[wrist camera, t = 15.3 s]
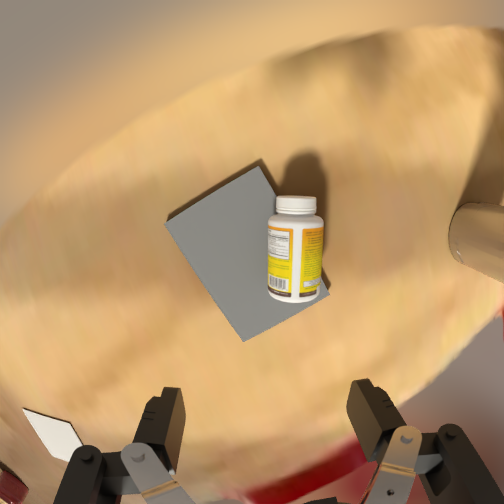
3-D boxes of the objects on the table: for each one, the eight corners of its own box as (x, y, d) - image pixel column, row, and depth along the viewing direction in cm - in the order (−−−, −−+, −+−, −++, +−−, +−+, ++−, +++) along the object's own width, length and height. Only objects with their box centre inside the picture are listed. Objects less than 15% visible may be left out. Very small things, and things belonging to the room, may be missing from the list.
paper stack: (28, 444, 43) (27, 446, 42) (-16, 367, 37) (-18, 369, 36) (99, 468, 44) (98, 470, 43) (55, 389, 38) (53, 391, 37)
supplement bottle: (318, 286, 33) (323, 196, 30) (320, 306, 27) (326, 199, 25) (270, 284, 34) (272, 194, 31) (263, 303, 28) (264, 197, 26)
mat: (258, 166, 31) (258, 165, 30) (327, 291, 35) (329, 294, 34) (166, 222, 32) (163, 223, 31) (243, 338, 36) (243, 342, 35)
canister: (-2, 468, 49) (-18, 494, 32) (10, 471, 49) (-7, 500, 31) (21, 488, 52) (7, 515, 35) (34, 492, 52) (20, 521, 34)
